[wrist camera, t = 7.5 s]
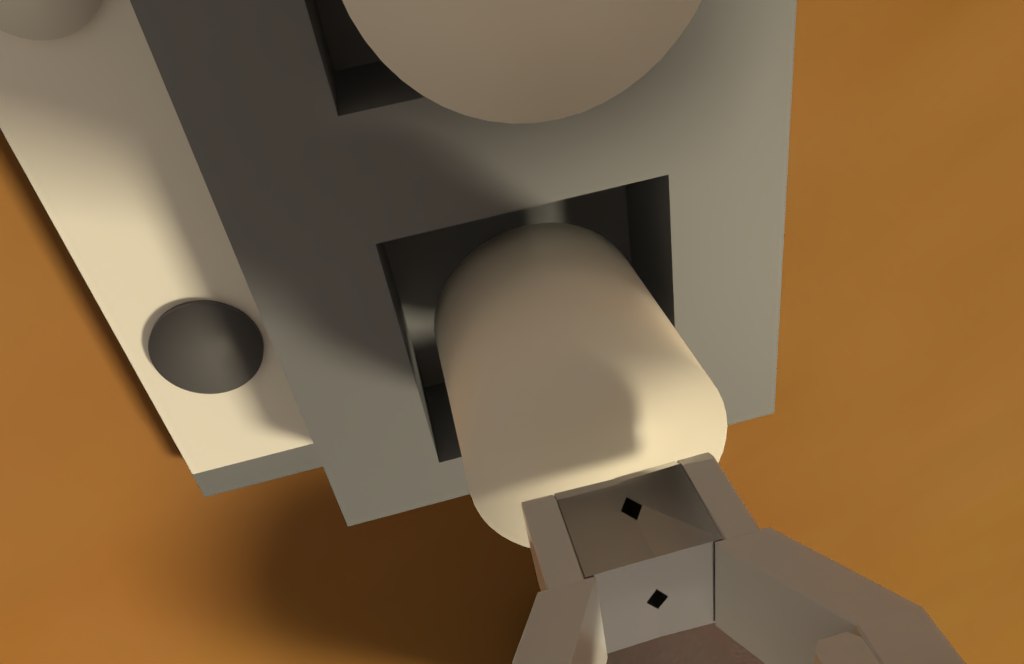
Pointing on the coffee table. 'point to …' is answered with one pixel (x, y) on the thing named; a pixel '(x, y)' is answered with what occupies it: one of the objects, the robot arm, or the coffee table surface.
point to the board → (374, 217)
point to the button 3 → (564, 371)
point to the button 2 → (520, 50)
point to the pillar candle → (686, 649)
